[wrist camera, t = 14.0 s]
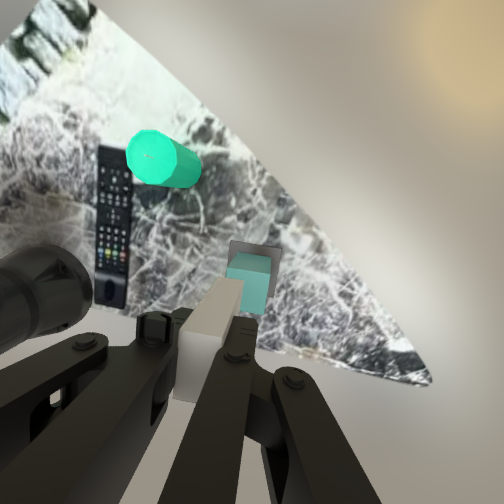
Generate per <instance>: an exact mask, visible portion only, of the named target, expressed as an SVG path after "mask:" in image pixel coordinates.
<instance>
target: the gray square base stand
mask: <svg viewBox="0 0 504 504" xmlns="http://www.w3.org/2000/svg"><path fill="white" fill-rule="evenodd" d="M281 251H282V248H276V247H270V246H264V245H257V244H251V243H244V242H238V241H232V240H231V241H230V249H229V257H228V265H229V264H230V263H231V261H232V260H233V258H234V257H235V256H236V254H237V253H238V252H241V253H248V254H254V255H260V256H266V257H271V273H270V280H269V286H268V292H267V297H272V298H274V292H275V286H276V280H277V274H278V268H279V262H280V256H281ZM228 265H227V267H228ZM226 273H227V272H226Z"/></svg>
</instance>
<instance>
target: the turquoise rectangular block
mask: <svg viewBox="0 0 504 504" xmlns="http://www.w3.org/2000/svg"><path fill="white" fill-rule="evenodd" d="M270 273H271V257H266V256H260V255H254V254H248V253H241V252H238V253H237V254H236V256H235V257H234V258H233V260H232V261H231V263H230V264H229V265H228V267H227V273H226V278H232V279H238V280H244V285H243V291H242V298H241V305H240V311H244V312H250V313H255V314H261V315H264V310H265V304H266V298H267V292H268V286H269V280H270Z"/></svg>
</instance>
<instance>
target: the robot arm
mask: <svg viewBox="0 0 504 504" xmlns="http://www.w3.org/2000/svg"><path fill="white" fill-rule="evenodd" d="M243 285H244V280H238V279H232V278H226V277H220V276H219V277H218V278H217V279H216V281H215V282H214V283H213V285H212V286H211V288H210V289H209V290H208V292H207V293H206V294H205V296H204V297H203V298H202V300H201V301H200V302H199V304H198V305H197V307H196V308H195V309H188V308H183V307H181V308H179V309H177V310H174V311H173V312H172V313H171V314H170V313H166V312H159V311H153V312H146V313H143V314H141V315H139V316H137V324H136V339H135V340H134V341H133V342H132V343H131V344H130V345H129V346H108V342H109V341H108V338H107V337H106V336H105V335H103V334H99V333H94V332H92V333H91V332H87V333H84V334H78V335H75V336H72V337H70V338H68V339H66V340H63V341H61V342H59V343H57V344H55V345H53V346H50V347H48V348H46V349H44V350H42V351H40V352H38V353H36V354H33V355H31V356H29V357H27V358H25V359H23V360H21V361H19V362H17V363H15V364H12V365H10V366H8V367H6V368H4V369H1V370H0V504H119V502H120V500H121V498H122V496H123V494H124V492H125V490H126V488H127V486H128V484H129V482H130V480H131V479H132V476H133V475H134V473H135V471H136V469H137V467H138V465H139V463H140V461H141V459H142V457H143V455H144V453H145V451H146V449H147V447H148V445H149V443H150V441H151V439H152V438H153V436H154V434H155V432H156V430H157V428H158V426H159V424H160V422H161V420H162V418H163V416H164V414H165V412H166V410H167V406H168V398H169V394H170V392H171V391H172V389H173V387H174V390H173V399H176V400H181V401H186V402H192V403H196V406H195V408H194V411H193V414H192V416H191V419H190V421H189V424H188V426H187V429H186V431H185V434H184V437H183V439H182V442H181V444H180V447H179V449H178V452H177V455H176V457H175V460H174V462H173V465H172V468H171V470H170V472H169V475H168V478H167V480H166V483H165V485H164V488H163V491H162V493H161V495H160V498H159V501H158V503H157V504H235V501H236V494H237V486H238V478H239V471H240V464H241V463H240V462H241V455H242V448H243V441H244V435H245V436H247V437H249V438H251V439H253V440H254V441H256V442H258V443H260V444H261V453H262V459H263V463H264V469H265V474H266V479H267V484H268V490H269V495H270V500H271V504H382V503H381V501H380V499H379V498H378V496H377V494H376V492H375V490H374V488H373V487H372V485H371V483H370V481H369V479H368V477H367V476H366V474H365V472H364V470H363V468H362V467H361V465H360V463H359V461H358V459H357V457H356V456H355V454H354V452H353V450H352V448H351V446H350V445H349V443H348V441H347V439H346V437H345V436H344V434H343V432H342V430H341V428H340V426H339V425H338V423H337V421H336V419H335V417H334V416H333V414H332V412H331V410H330V408H329V406H328V405H327V403H326V401H325V399H324V397H323V395H322V394H321V392H320V390H319V388H318V386H317V385H316V383H315V381H314V380H313V378H312V377H311V376H310V375H309V374H308V373H306V372H305V371H303V370H301V369H298V368H294V367H281V368H279V369H277V370H276V371H275V373H274V374H273V373H270V372H268V371H267V370H265V369H263V368H262V367H260V366H259V365H258V364H257V363H256V361H255V358H254V354H255V347H256V339H257V331H258V324H257V322H256V320H255V319H251V318H246V317H240V316H239V312H240V305H241V298H242V291H243ZM91 301H92V286H91V282H90V279H89V276H88V274H87V272H86V270H85V269H84V267H83V266H82V264H81V263H80V262H79V261H78V260H77V259H76V258H75V257H74V256H73V255H72V254H70V253H69V252H67V251H66V250H64V249H62V248H59V247H57V246H53V245H47V244H40V245H34V246H28V247H24V248H21V249H18V250H16V251H14V252H12V253H10V254H9V255H7V256H5V257H4V258H2V259H0V355H1V354H2V353H4V352H6V351H8V350H9V349H11V348H13V347H15V346H16V345H18V344H20V343H22V342H23V341H25V340H27V339H31V338H36V337H40V336H45V335H50V334H54V333H58V332H62V331H64V330H66V329H68V328H70V327H71V326H73V325H75V324H76V323H78V322H79V321H80V320H82V319H83V317H84V316H85V315H86V314H87V312H88V310H89V308H90V305H91ZM59 389H60V400H59V401H58V402H56V403H54V404H50V395H51V394H53V393H54V392H56V391H58V390H59Z"/></svg>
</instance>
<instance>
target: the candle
mask: <svg viewBox="0 0 504 504" xmlns="http://www.w3.org/2000/svg"><path fill="white" fill-rule="evenodd" d="M126 157H127V165H128V167H129V168H130V169H131V171H132V172H133V173H134V175H135V176H136V177H137V178H138V179H140V180H141V181H143V182H145V183H146V184H151V185H158V186H166V187H173V188H190V187H191V186H193V185H194V184H196V183H197V182H198V180H199V178H200V175H201V162H200V160H199V158H198V157H197V155H196V153H194V152H192V151H191V150H189V149H187V148H186V147H184V146H182V145H181V144H179V143H177V142H176V141H174V140H172V139H171V138H169V137H167V136H166V135H164V134H162V133H160V132H159V131H157V130H141V131H140V132H138V133H137V134H136V135H135V136H133V137H132V138H131V140H130V142H129V145H128V147H127V149H126Z"/></svg>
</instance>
